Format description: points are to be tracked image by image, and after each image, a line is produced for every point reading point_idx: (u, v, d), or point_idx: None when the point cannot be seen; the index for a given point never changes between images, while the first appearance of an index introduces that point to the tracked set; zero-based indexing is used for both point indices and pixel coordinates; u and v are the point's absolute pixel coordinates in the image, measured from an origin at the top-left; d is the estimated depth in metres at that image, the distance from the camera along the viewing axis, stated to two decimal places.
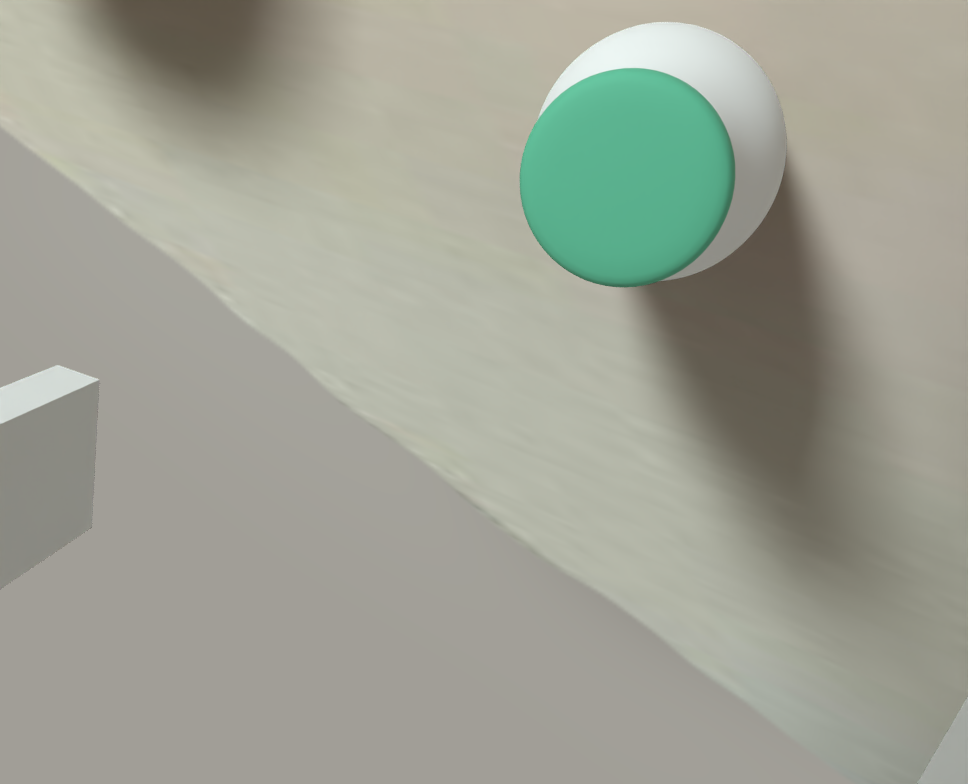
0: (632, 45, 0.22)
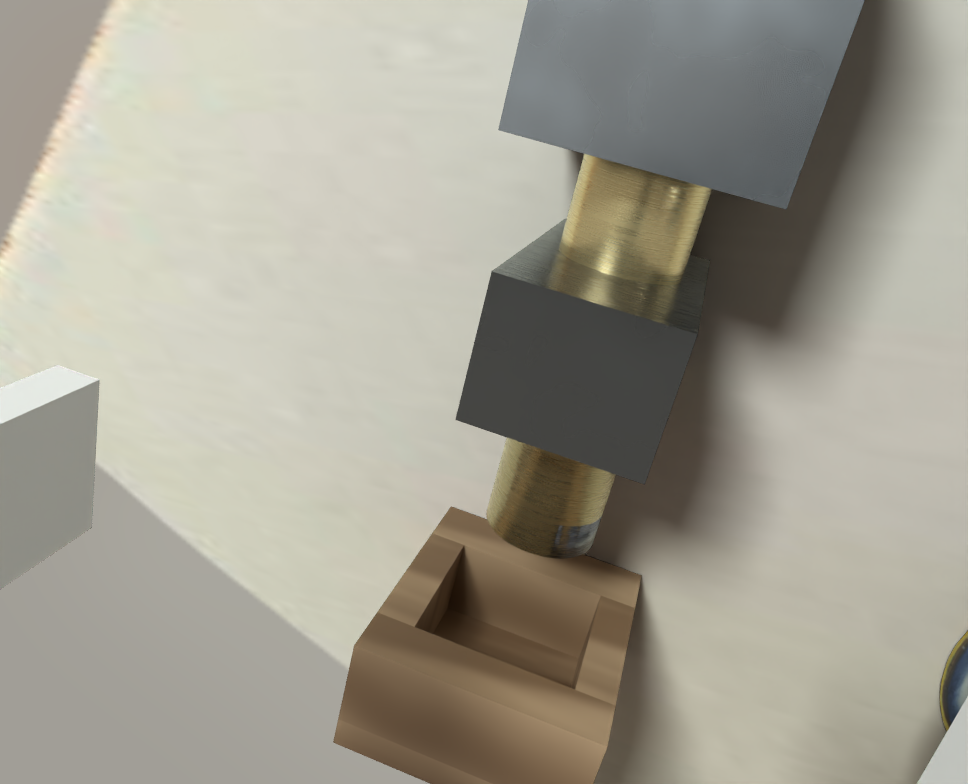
0: None
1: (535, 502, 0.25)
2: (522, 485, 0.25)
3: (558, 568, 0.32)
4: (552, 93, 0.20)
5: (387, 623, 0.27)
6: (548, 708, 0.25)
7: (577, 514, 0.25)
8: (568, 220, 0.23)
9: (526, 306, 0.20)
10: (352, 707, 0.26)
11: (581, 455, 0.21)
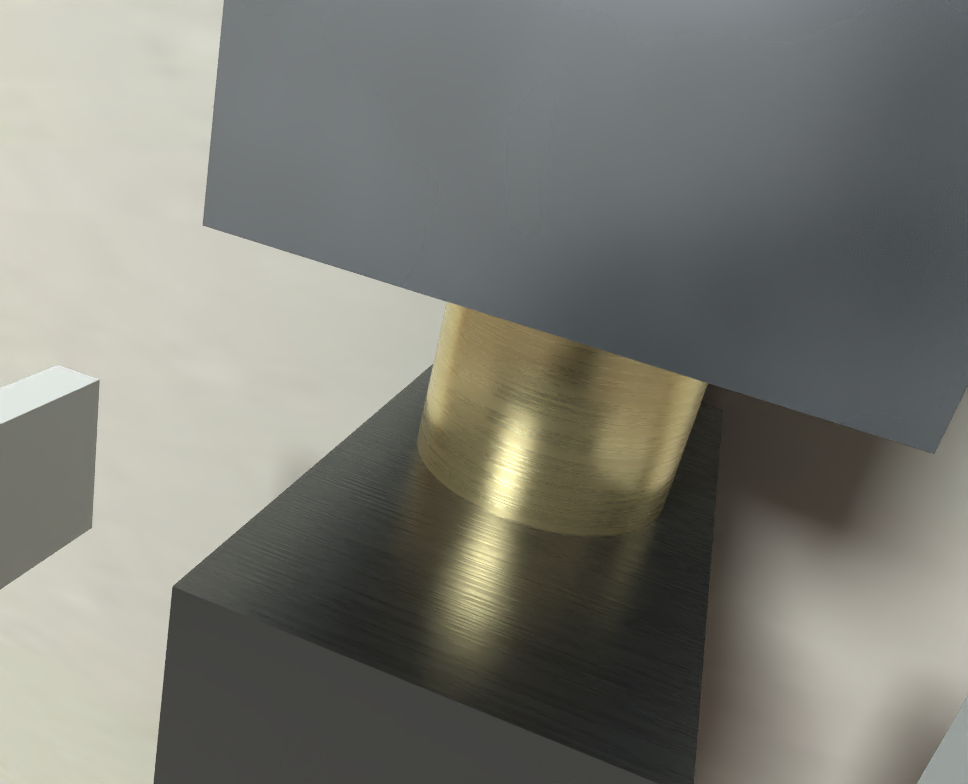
0: None
1: None
2: None
3: None
4: (316, 139, 0.08)
5: None
6: None
7: None
8: (430, 386, 0.11)
9: (260, 672, 0.08)
10: None
11: None
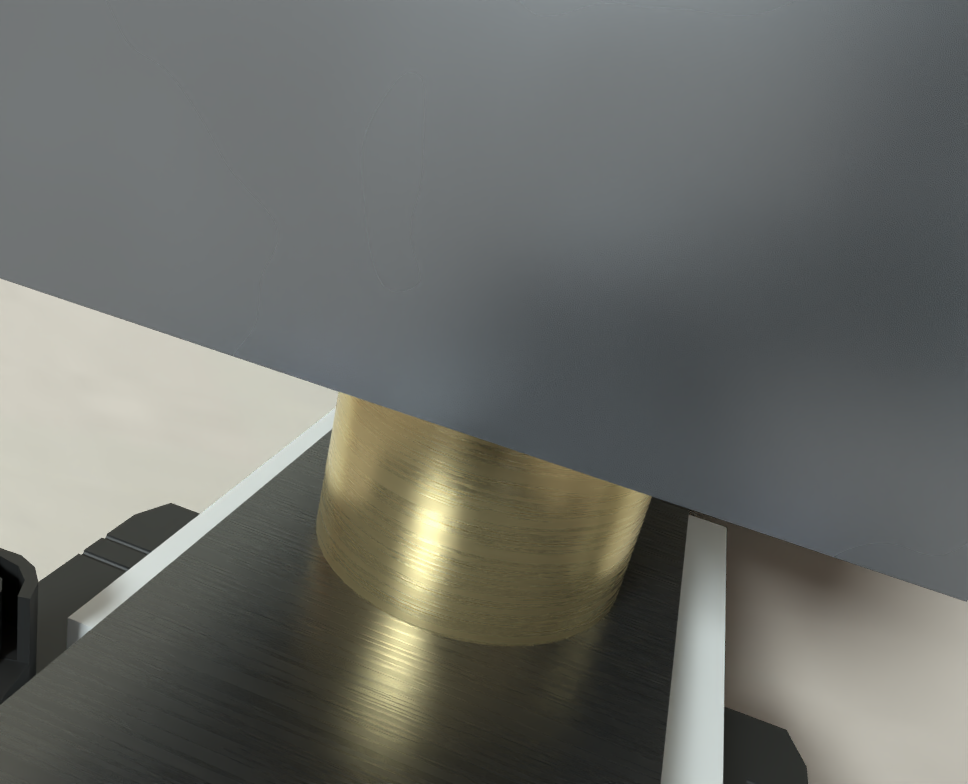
0: None
1: None
2: None
3: None
4: (110, 155, 0.06)
5: None
6: None
7: None
8: (328, 452, 0.09)
9: None
10: None
11: None
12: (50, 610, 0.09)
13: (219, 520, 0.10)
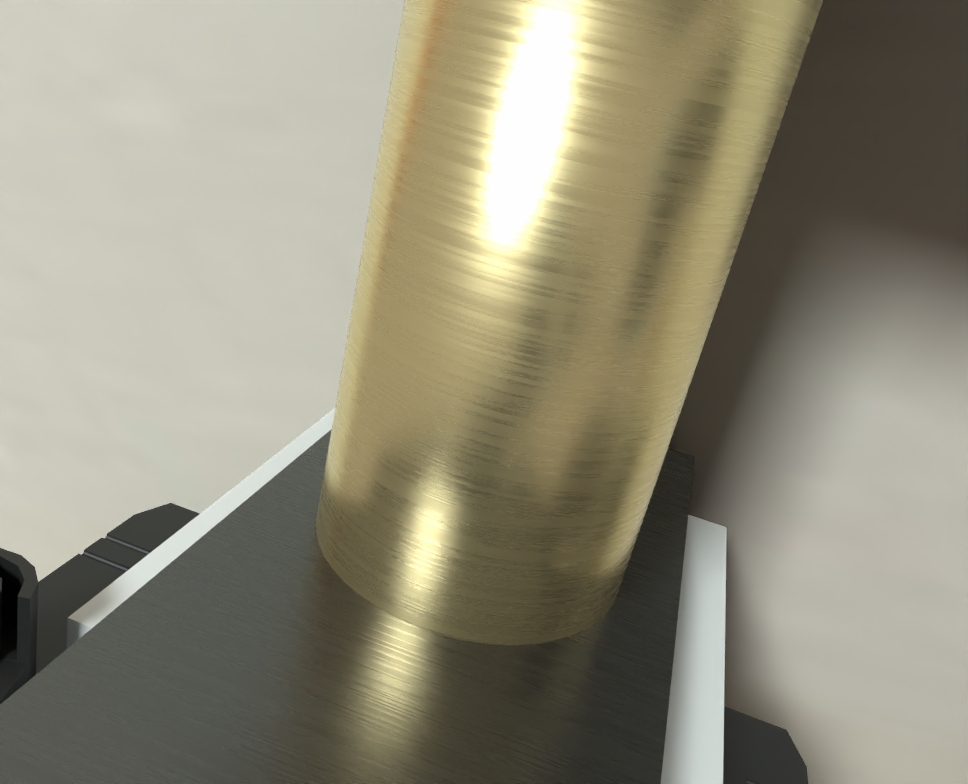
0: None
1: None
2: None
3: None
4: None
5: None
6: None
7: None
8: (328, 452, 0.09)
9: None
10: None
11: None
12: (50, 610, 0.09)
13: (219, 520, 0.10)
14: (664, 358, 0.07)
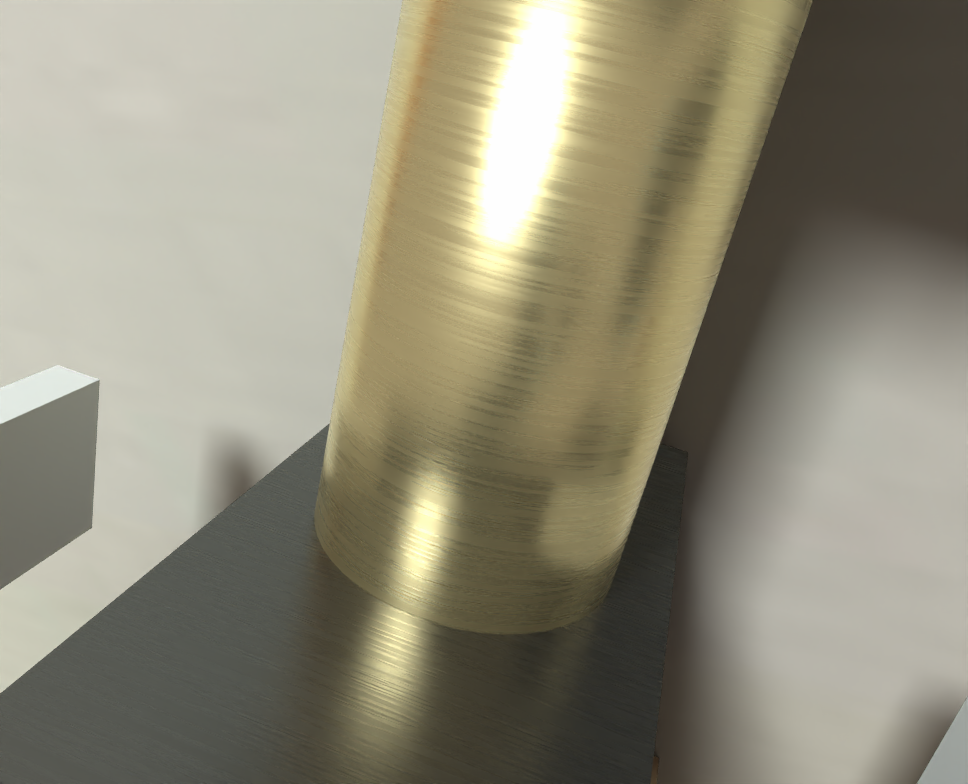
0: None
1: None
2: None
3: None
4: None
5: None
6: None
7: None
8: (326, 445, 0.09)
9: None
10: None
11: None
12: None
13: None
14: (655, 352, 0.08)
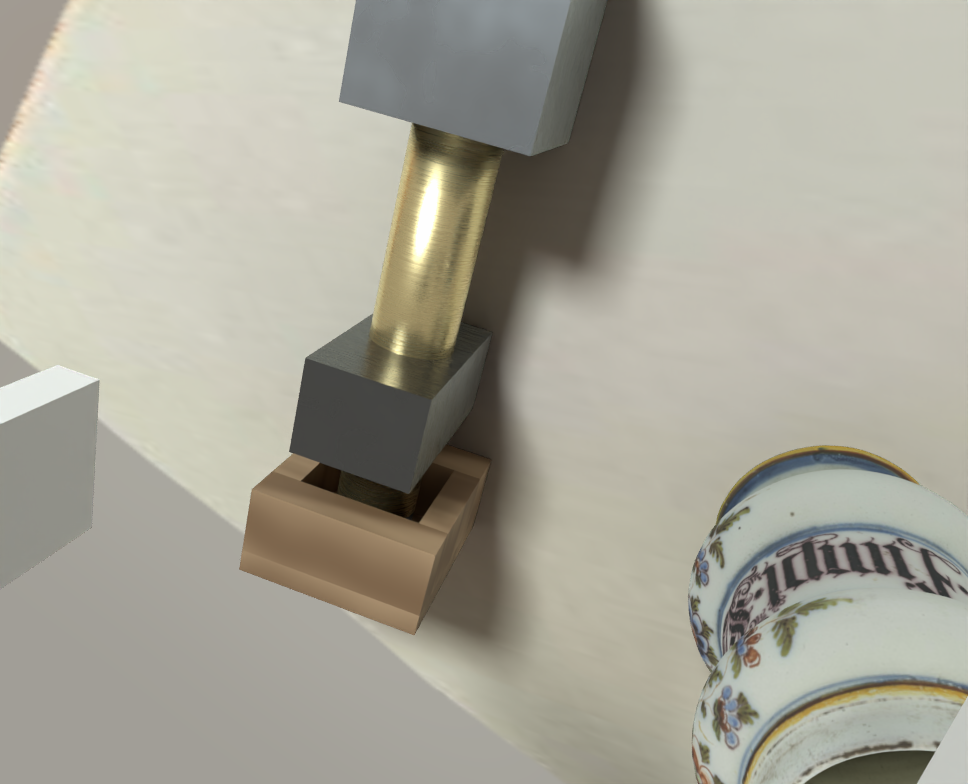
0: None
1: None
2: (351, 493, 0.37)
3: None
4: (373, 76, 0.29)
5: (279, 478, 0.35)
6: (395, 532, 0.34)
7: None
8: (373, 314, 0.35)
9: (328, 380, 0.31)
10: (252, 539, 0.35)
11: (369, 475, 0.32)
12: None
13: None
14: (453, 287, 0.33)
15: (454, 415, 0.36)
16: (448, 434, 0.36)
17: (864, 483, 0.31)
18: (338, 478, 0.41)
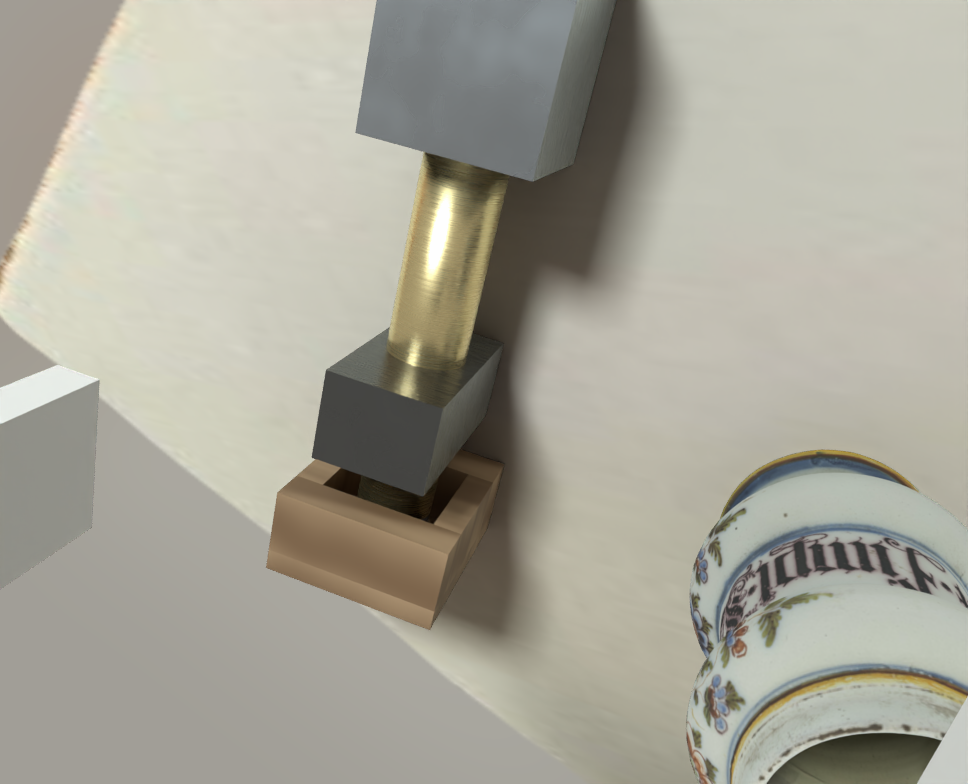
0: None
1: None
2: (370, 496, 0.39)
3: None
4: (386, 109, 0.31)
5: (303, 482, 0.38)
6: (411, 532, 0.36)
7: None
8: (389, 328, 0.37)
9: (347, 390, 0.33)
10: (278, 540, 0.37)
11: (386, 479, 0.34)
12: None
13: None
14: (464, 302, 0.35)
15: (467, 422, 0.38)
16: (461, 440, 0.38)
17: (854, 485, 0.33)
18: (359, 482, 0.43)
